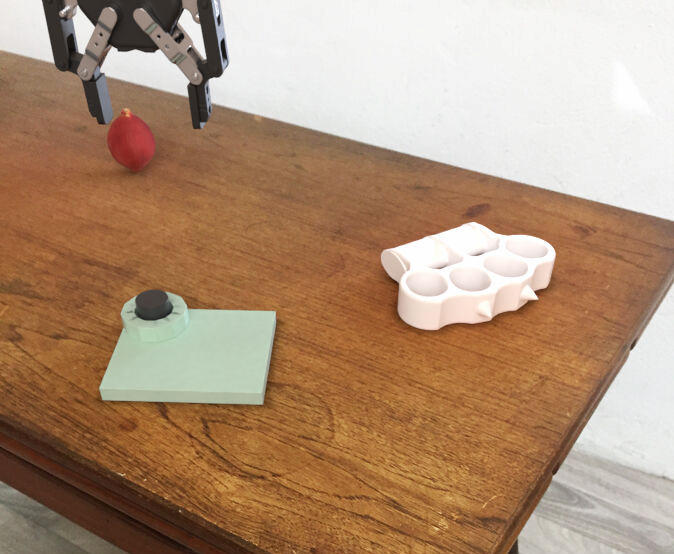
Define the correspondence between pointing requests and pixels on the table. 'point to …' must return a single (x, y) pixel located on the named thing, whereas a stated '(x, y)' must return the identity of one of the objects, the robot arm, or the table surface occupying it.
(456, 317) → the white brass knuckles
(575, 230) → the table surface
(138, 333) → the scale
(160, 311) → the button
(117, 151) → the onion
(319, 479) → the table surface
